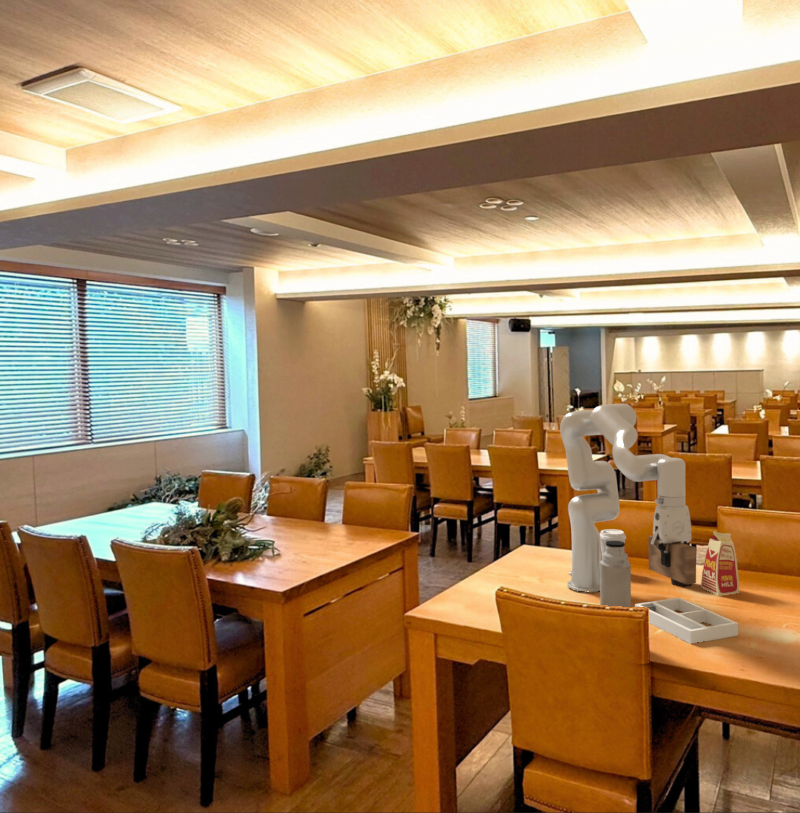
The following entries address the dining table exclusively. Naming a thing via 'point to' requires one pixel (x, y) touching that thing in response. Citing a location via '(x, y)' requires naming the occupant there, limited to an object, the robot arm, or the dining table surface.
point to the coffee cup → (611, 537)
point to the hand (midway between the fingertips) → (671, 564)
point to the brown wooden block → (675, 562)
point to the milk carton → (720, 566)
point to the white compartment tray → (689, 620)
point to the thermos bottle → (615, 576)
